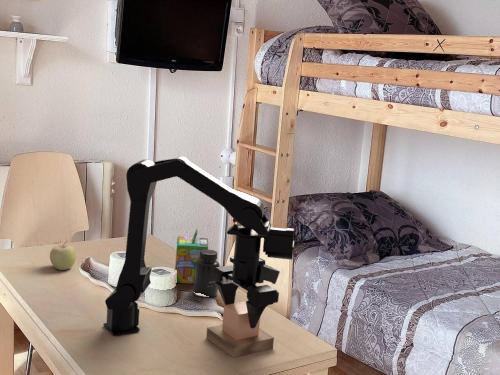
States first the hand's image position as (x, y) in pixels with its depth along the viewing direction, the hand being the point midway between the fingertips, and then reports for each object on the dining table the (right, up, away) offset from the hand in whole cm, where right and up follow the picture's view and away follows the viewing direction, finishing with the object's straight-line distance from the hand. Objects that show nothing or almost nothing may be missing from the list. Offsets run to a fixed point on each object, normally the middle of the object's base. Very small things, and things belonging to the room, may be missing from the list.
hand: (241, 320), depth 146 cm
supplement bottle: (-10, +1, +30) cm, 32 cm away
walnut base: (0, -5, +1) cm, 6 cm away
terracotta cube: (0, -3, +1) cm, 3 cm away
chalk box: (-16, +3, +41) cm, 44 cm away
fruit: (-53, +6, +41) cm, 67 cm away
